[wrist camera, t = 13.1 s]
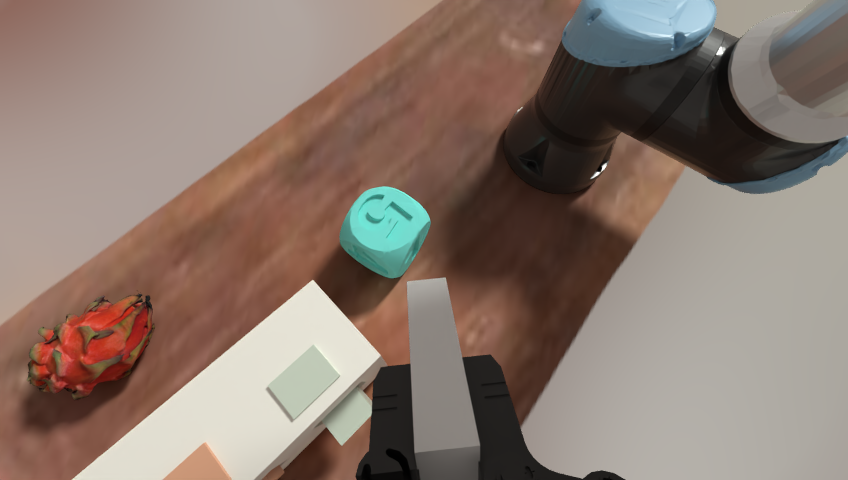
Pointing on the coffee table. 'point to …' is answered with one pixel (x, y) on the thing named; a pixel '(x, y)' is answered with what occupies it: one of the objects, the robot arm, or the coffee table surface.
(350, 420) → the sage button
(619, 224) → the coffee table surface
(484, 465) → the robot arm
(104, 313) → the dragon fruit
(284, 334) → the button box
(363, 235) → the decorative dice
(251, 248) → the coffee table surface
